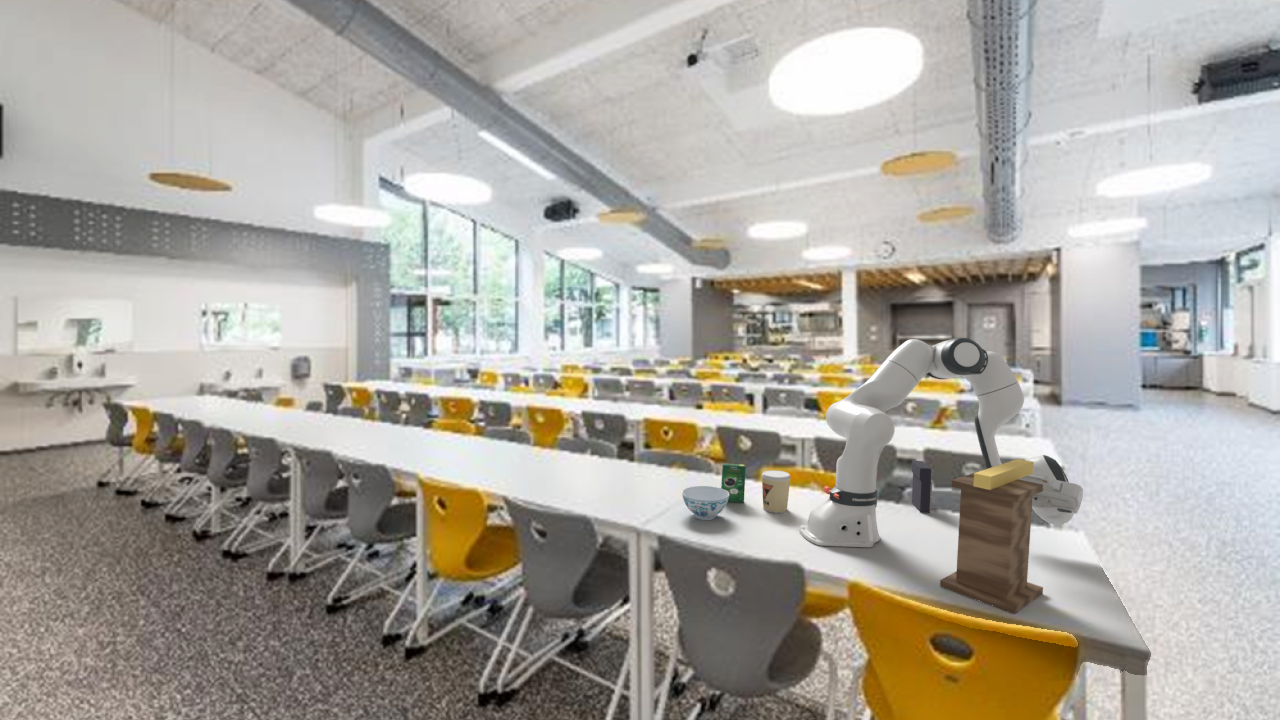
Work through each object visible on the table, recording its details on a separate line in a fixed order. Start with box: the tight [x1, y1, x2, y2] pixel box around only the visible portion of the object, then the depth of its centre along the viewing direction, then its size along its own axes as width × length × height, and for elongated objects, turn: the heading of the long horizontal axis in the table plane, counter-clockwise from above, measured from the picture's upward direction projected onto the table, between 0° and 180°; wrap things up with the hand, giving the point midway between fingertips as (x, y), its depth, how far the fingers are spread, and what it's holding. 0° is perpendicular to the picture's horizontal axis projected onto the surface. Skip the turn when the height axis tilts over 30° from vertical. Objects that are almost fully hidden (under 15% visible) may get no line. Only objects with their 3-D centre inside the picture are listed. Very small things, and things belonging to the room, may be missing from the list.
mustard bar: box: [973, 458, 1034, 490], centre depth 139 cm, size 24×4×3 cm, turn 127°
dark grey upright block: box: [910, 460, 933, 514], centre depth 197 cm, size 11×4×15 cm, turn 168°
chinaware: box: [681, 485, 729, 521], centre depth 187 cm, size 15×15×8 cm
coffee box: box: [720, 463, 747, 504], centre depth 202 cm, size 8×3×13 cm, turn 85°
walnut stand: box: [939, 470, 1044, 615], centre depth 137 cm, size 16×16×26 cm
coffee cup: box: [761, 469, 791, 514], centre depth 195 cm, size 9×9×12 cm
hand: (1025, 474), depth 146 cm, fingers open, 8 cm apart
